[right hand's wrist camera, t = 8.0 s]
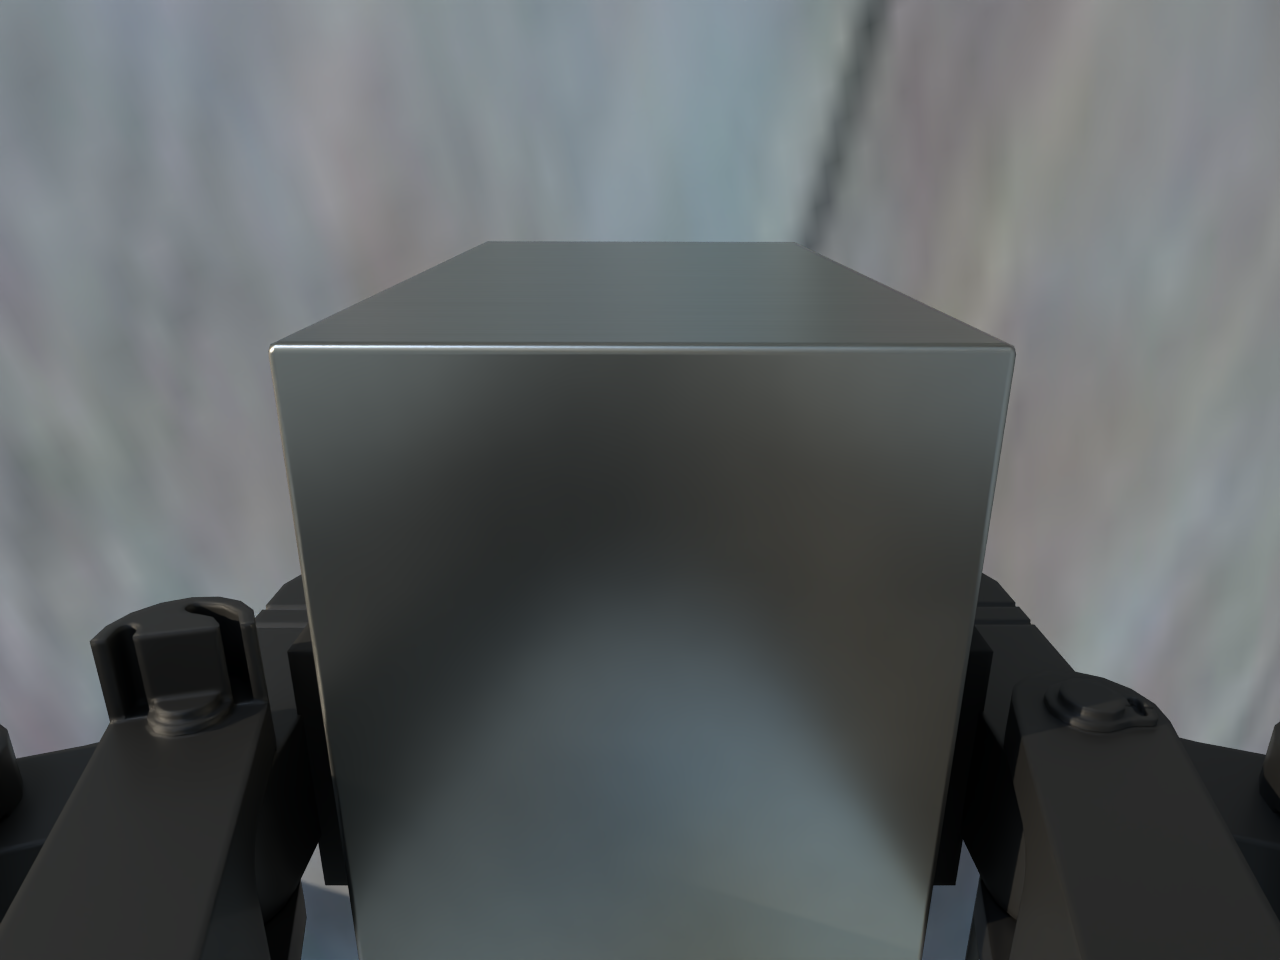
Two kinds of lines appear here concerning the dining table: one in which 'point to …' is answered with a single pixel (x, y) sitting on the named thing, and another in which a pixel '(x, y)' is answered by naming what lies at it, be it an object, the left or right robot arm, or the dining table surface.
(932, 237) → the dining table surface
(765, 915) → the bar
